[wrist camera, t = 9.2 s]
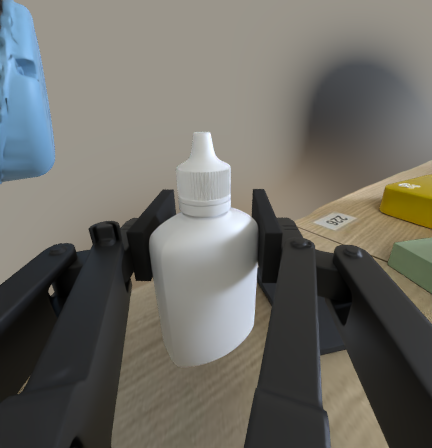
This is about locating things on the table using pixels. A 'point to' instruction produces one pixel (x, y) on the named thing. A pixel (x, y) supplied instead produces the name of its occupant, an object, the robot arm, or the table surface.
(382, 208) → the element tile
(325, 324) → the slate mat
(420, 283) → the button housing
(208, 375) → the table surface
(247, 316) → the eye dropper bottle
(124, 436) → the table surface
